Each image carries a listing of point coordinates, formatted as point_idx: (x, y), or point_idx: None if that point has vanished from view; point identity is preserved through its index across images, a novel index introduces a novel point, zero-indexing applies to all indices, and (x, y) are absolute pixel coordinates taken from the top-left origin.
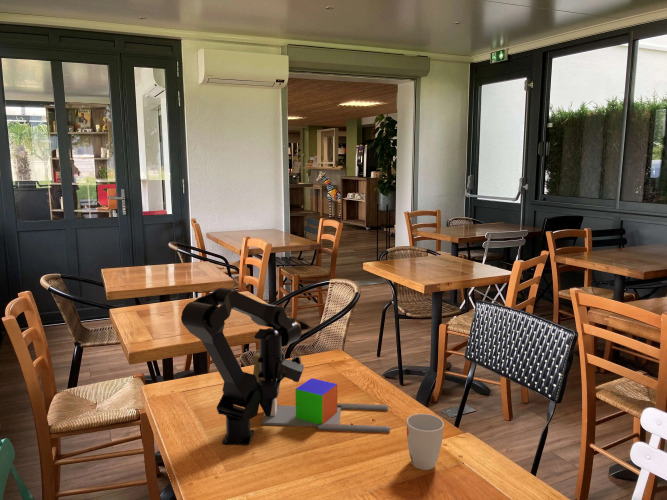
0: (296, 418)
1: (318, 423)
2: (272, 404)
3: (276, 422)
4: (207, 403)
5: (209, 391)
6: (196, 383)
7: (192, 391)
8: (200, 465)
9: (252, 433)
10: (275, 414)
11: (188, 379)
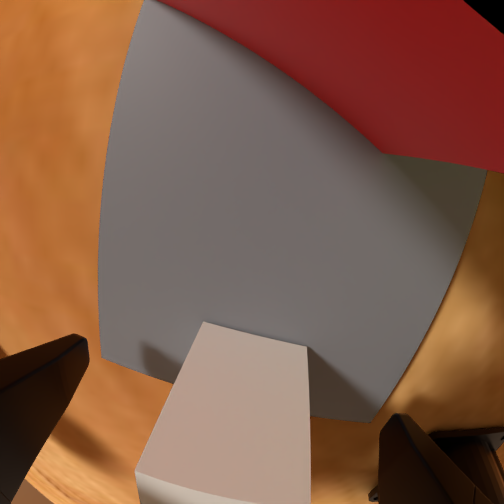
0: None
1: (500, 5)
2: (452, 493)
3: (416, 338)
4: (119, 497)
5: (44, 465)
6: None
7: (60, 487)
8: None
9: (458, 437)
10: (279, 342)
11: None
